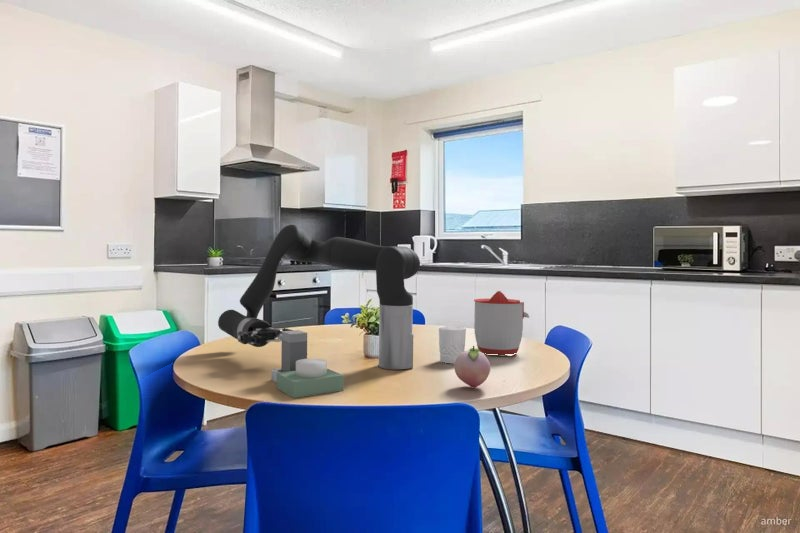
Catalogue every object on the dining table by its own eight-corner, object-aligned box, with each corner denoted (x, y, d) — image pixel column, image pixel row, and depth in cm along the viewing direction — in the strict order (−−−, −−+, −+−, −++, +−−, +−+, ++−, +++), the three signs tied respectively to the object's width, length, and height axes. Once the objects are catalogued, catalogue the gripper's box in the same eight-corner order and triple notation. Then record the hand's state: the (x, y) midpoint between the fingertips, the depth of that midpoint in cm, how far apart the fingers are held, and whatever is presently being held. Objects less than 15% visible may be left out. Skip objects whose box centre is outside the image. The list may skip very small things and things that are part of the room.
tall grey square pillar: (281, 380, 130) (281, 331, 129) (297, 378, 132) (298, 330, 132) (289, 384, 126) (290, 334, 125) (306, 382, 128) (307, 332, 128)
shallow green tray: (263, 380, 129) (263, 354, 129) (308, 374, 136) (309, 349, 136) (294, 398, 114) (294, 368, 114) (343, 390, 121) (343, 362, 121)
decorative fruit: (452, 382, 130) (453, 342, 129) (486, 383, 129) (487, 342, 129) (455, 393, 120) (456, 349, 120) (491, 393, 120) (492, 349, 120)
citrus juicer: (534, 359, 160) (535, 293, 160) (476, 358, 161) (477, 292, 160) (522, 349, 176) (523, 289, 175) (470, 348, 176) (471, 288, 176)
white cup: (469, 361, 156) (470, 327, 156) (457, 366, 149) (458, 330, 149) (445, 358, 160) (446, 325, 160) (433, 362, 153) (433, 328, 153)
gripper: (229, 320, 147) (249, 327, 133) (278, 317, 155) (302, 323, 142) (229, 347, 147) (249, 356, 134) (278, 342, 155) (301, 351, 142)
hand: (276, 339), depth 138 cm, fingers open, 8 cm apart
